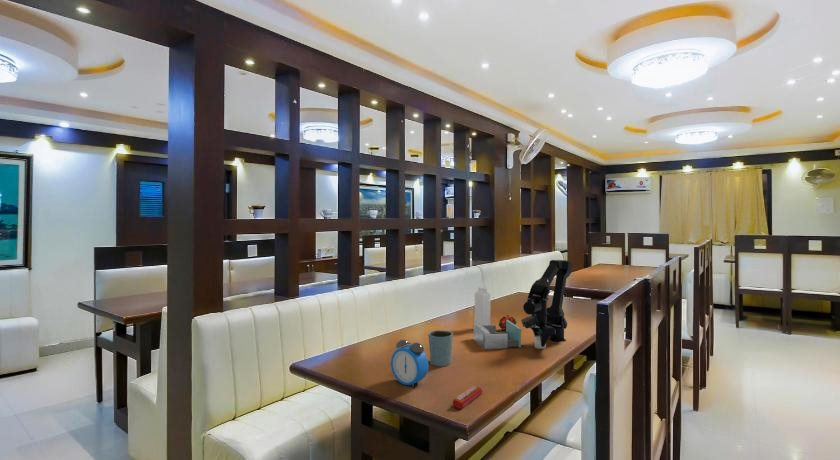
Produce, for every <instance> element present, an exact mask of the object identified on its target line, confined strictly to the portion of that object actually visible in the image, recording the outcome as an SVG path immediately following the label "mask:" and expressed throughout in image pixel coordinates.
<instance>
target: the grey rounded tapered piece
mask: <svg viewBox="0 0 840 460" xmlns="http://www.w3.org/2000/svg"><path fill="white" fill-rule="evenodd" d="M533 338H534V339H533V342H534V343H533V344H534V345H533V346H534V348H535V349H540V350H541V349H546V348H547V343H546V344H545V346H544V347H542V346H541V339H540V336H534V335H533Z"/></svg>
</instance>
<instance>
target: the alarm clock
mask: <svg viewBox="0 0 840 460" xmlns="http://www.w3.org/2000/svg"><path fill="white" fill-rule="evenodd" d="M395 348H396V349H395V350H394V351H393V353H392V355H391V357H390V368H391V371H392V374H393V376H394V378H395V379H396V380H397V381H398V382H397V383H400V384H402V385H405V386H412V388H414V385H415V384H416V383H418V382H420V381H422V380H424V379H425V378H426V376H427V374H428V372H429V360H428V358H427V355H426V353H425V351H424V350H425V349H424V345H423V344H422V343H419V342H417V341H416V342H412V343H411V342H409V341H408V340H407V339H399V341H397V342H396V344H395Z"/></svg>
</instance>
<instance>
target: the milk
mask: <svg viewBox="0 0 840 460" xmlns="http://www.w3.org/2000/svg"><path fill="white" fill-rule="evenodd" d="M487 290H488V289H487V288H484V287H478V289H477V291H476V292H475V293H474V325H475V324H481V325H491V293H490V292H488V291H487Z"/></svg>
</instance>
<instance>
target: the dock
mask: <svg viewBox="0 0 840 460" xmlns="http://www.w3.org/2000/svg"><path fill="white" fill-rule="evenodd" d="M472 327H473V331H472V334H473V340H474V341H475V342H476V343H477V344H478V345H479V346H480V348H482V350H495V349H496V350H498V349H508V348H509V347H508V334H491V333H490V332H497V325H496V324H490V325H481V324H475V323H474V325H473V326H472Z"/></svg>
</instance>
